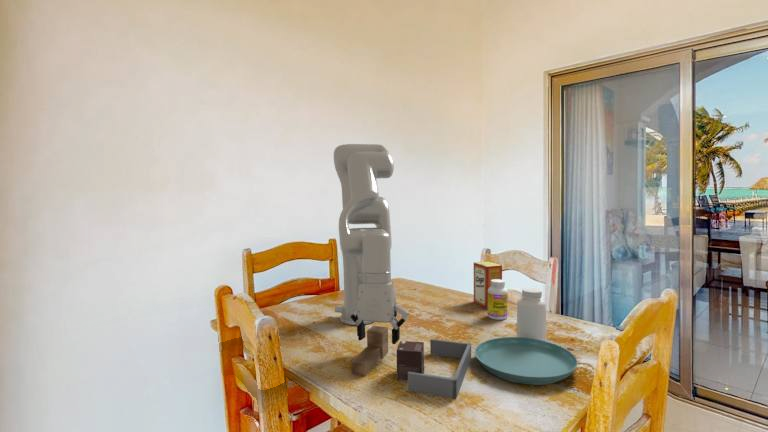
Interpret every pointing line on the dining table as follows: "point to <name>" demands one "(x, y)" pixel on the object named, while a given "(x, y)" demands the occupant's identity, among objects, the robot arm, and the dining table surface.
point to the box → (409, 359)
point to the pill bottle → (531, 315)
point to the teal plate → (526, 360)
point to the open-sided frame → (438, 383)
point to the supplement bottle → (497, 300)
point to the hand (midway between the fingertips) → (378, 340)
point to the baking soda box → (484, 280)
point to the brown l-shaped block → (371, 351)
